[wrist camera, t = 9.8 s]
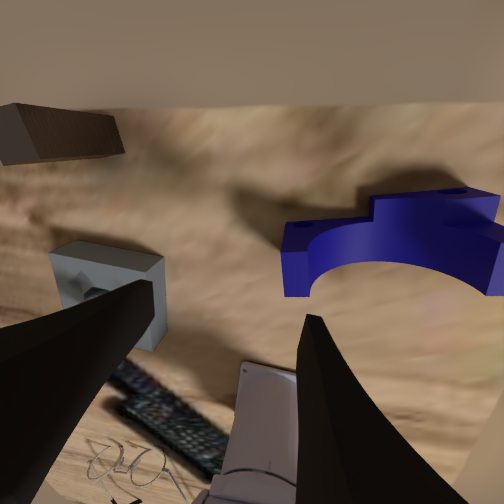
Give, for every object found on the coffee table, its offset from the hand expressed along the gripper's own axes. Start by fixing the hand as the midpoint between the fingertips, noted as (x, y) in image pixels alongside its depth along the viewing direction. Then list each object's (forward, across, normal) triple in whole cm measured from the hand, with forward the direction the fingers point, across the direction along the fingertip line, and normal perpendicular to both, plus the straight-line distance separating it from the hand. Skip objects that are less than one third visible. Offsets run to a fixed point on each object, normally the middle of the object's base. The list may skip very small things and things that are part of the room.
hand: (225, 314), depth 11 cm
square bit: (+10, +13, -6) cm, 17 cm away
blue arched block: (+10, -8, -2) cm, 13 cm away
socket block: (+10, +13, +8) cm, 18 cm away
